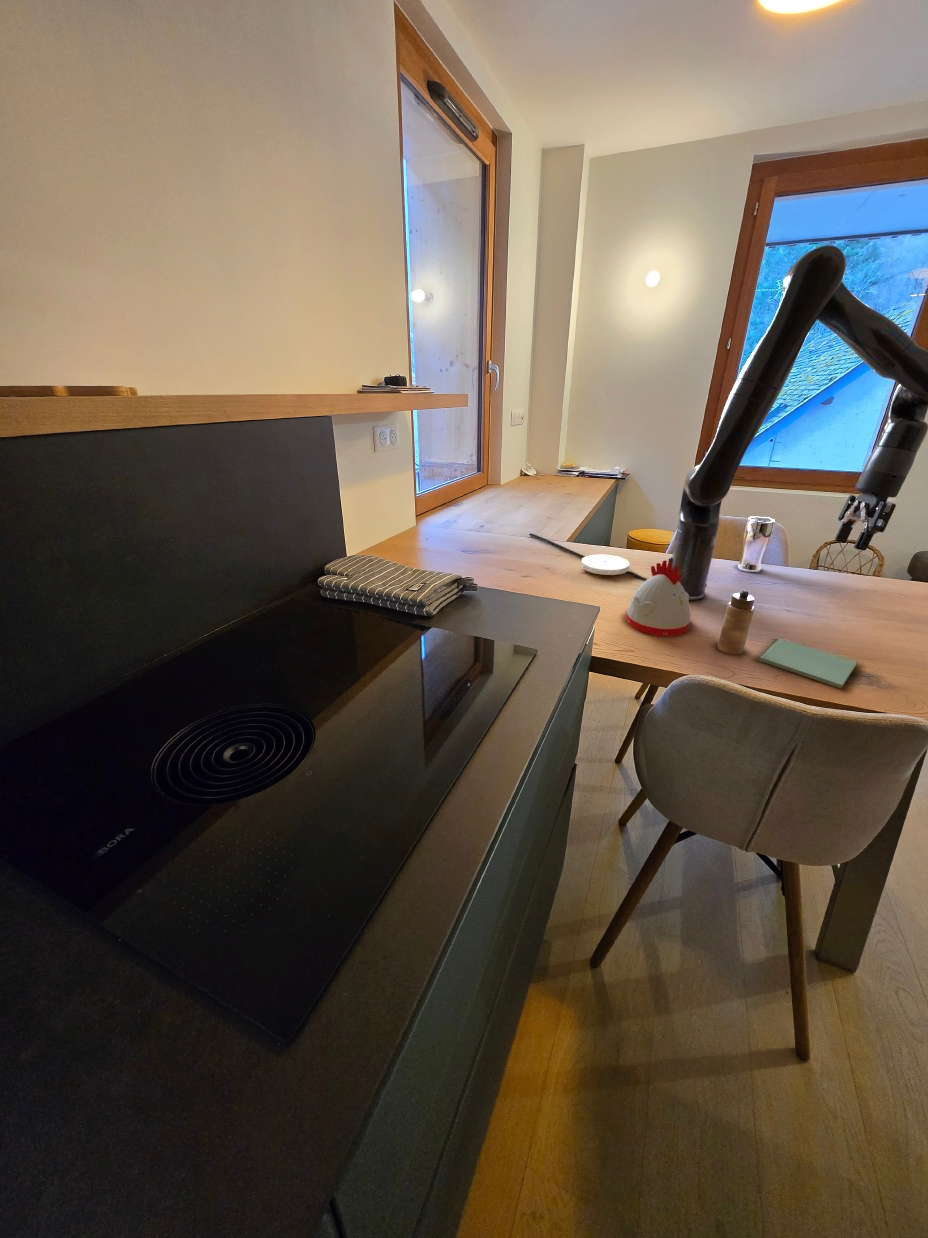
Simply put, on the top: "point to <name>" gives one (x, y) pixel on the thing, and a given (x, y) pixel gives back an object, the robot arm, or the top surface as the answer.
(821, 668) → the rubber mat
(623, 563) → the plastic lid
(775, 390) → the robot arm
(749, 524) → the beer glass
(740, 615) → the pepper mill
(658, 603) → the kitchen timer
